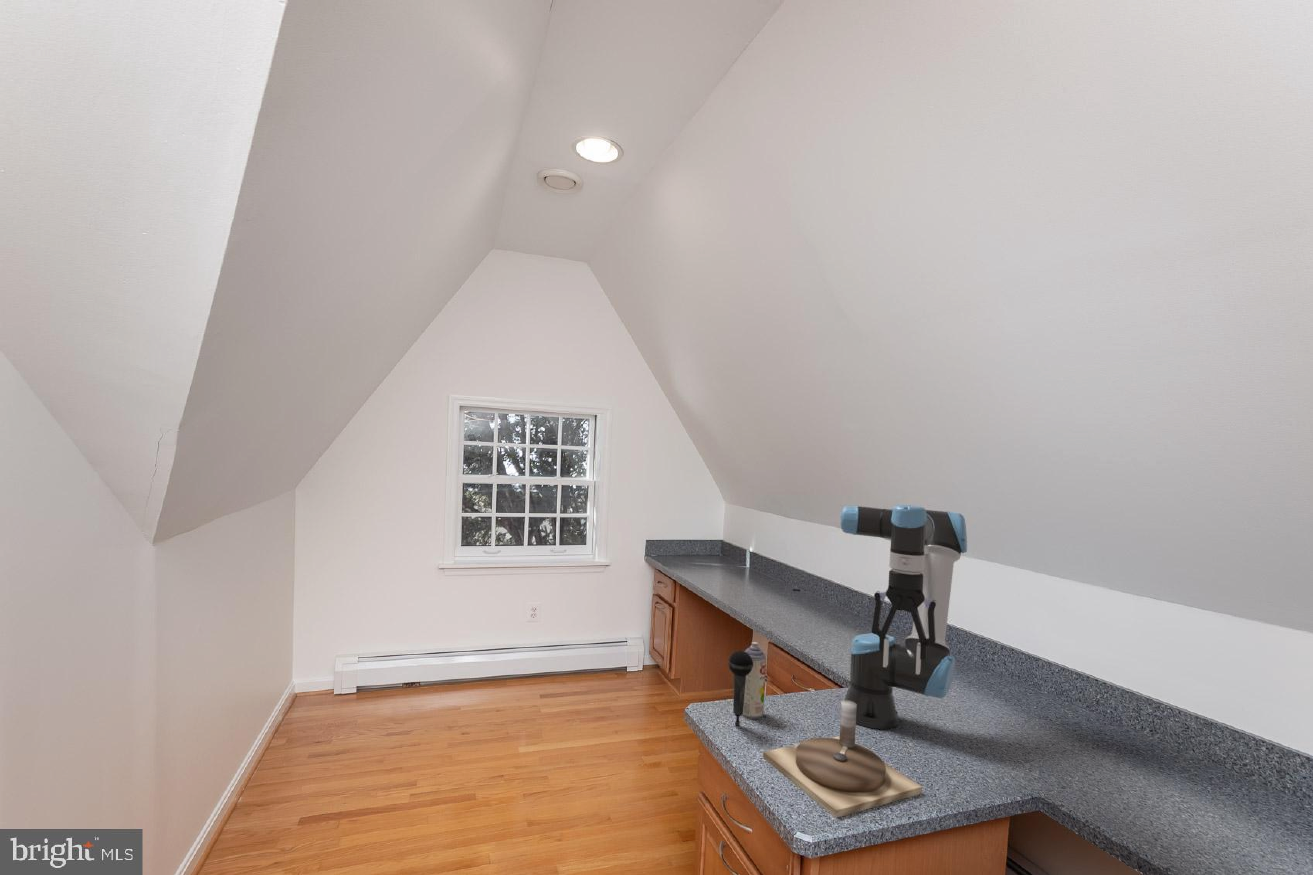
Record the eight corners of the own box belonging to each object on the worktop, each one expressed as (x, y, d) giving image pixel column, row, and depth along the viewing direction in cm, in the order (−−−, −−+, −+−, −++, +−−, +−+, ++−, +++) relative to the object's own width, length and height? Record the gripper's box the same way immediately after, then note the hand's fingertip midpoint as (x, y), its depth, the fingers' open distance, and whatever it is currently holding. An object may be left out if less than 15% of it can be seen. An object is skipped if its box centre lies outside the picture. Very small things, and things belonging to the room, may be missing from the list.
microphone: (730, 732, 156) (734, 656, 157) (720, 720, 163) (724, 647, 163) (754, 730, 158) (758, 655, 158) (743, 719, 165) (747, 646, 165)
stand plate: (841, 741, 155) (841, 733, 155) (921, 793, 132) (922, 784, 132) (763, 757, 144) (763, 749, 144) (835, 817, 121) (836, 808, 121)
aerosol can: (761, 720, 164) (765, 648, 164) (737, 716, 166) (741, 644, 166) (764, 710, 171) (768, 641, 171) (740, 706, 173) (744, 637, 173)
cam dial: (877, 802, 125) (880, 745, 125) (784, 772, 134) (787, 719, 135) (891, 761, 142) (893, 711, 142) (808, 737, 152) (810, 690, 152)
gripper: (860, 567, 142) (855, 664, 141) (951, 580, 132) (946, 683, 132) (866, 563, 148) (861, 655, 148) (952, 574, 139) (948, 673, 138)
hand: (901, 668), depth 140 cm, fingers open, 6 cm apart
